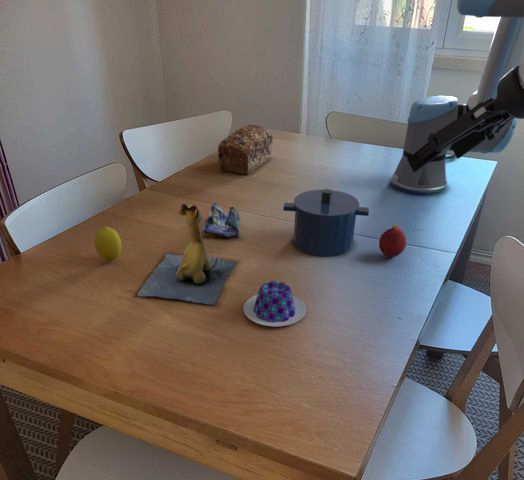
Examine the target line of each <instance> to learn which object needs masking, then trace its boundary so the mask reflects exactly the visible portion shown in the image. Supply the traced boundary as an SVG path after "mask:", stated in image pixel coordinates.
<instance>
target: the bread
mask: <svg viewBox="0 0 524 480" xmlns="http://www.w3.org/2000/svg"><path fill="white" fill-rule="evenodd" d="M273 139H274V138H273V135H272V133H271V132H270V131H268V129H266V128H265V127H262V126H260V125H258V124H246V125H244V126H242V127H240V128H239V129H237V130H236V131H234V132H233V133H231V134H230V135H228V136H226V137H225V138H224V139H223V140H221V141H220V143H219V144H218V147H217V153H218V154H217V157H218V163H219V169H220V170H221V171H225V172H227V173H231V172H234V173H237V174H239V175H247V176H248V175H250V174H251V173H252V172H254V171H255V170H257V169H258V168H259V167H261V166H262V165H263V164H264V163H266V162H267V161H268V160H269V159H270V158H271V156H272V153H273V145H274V144H273V143H274V141H273Z"/></svg>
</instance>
